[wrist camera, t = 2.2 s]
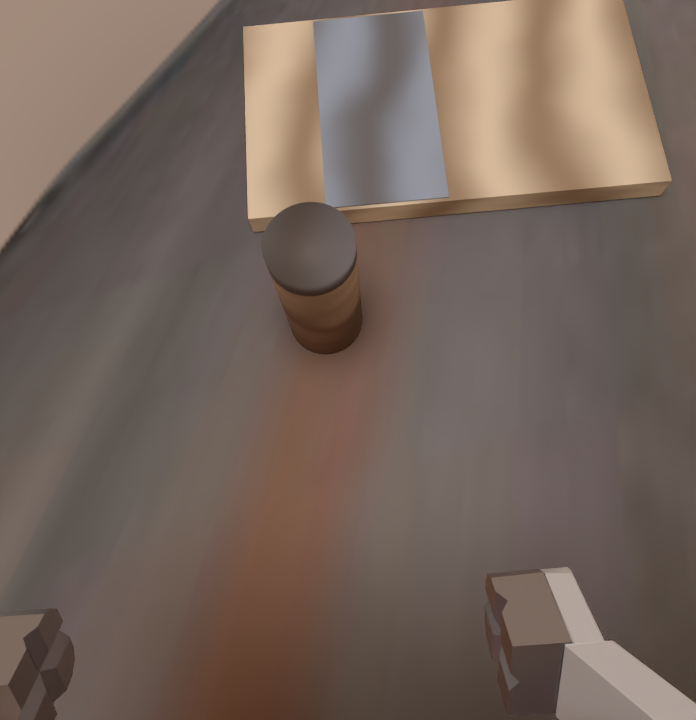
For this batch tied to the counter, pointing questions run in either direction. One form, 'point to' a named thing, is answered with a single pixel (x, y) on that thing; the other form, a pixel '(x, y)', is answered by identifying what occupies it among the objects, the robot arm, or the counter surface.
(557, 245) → the counter surface
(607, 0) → the plywood board
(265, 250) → the peg
